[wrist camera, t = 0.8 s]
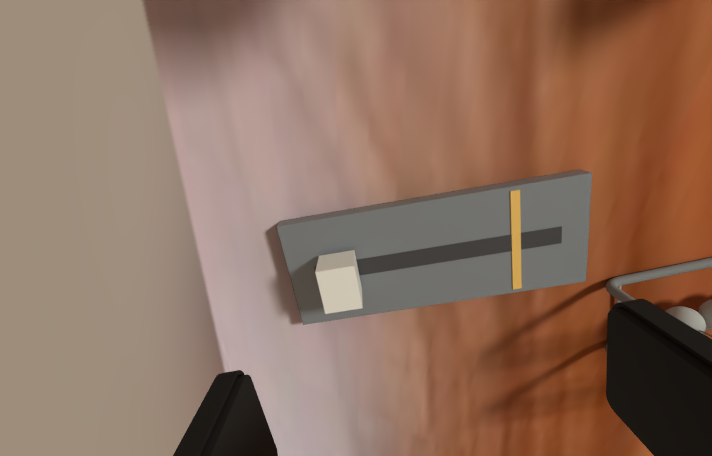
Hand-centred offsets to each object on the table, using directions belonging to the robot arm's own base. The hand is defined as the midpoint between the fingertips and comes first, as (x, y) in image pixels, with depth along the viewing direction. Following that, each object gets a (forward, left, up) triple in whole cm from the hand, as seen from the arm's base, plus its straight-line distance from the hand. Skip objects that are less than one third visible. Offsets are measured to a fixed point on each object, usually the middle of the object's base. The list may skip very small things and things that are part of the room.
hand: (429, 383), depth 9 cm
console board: (+10, +6, -30) cm, 32 cm away
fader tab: (+10, -5, -28) cm, 30 cm away
